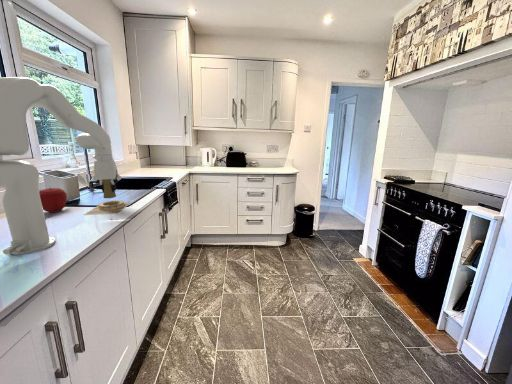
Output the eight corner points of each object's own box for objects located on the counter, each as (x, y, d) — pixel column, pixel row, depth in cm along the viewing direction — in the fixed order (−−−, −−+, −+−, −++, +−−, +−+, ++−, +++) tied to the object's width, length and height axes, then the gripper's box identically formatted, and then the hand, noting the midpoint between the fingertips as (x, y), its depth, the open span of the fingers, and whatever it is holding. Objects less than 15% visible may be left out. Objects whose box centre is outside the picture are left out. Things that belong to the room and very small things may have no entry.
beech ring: (119, 209, 126) (118, 205, 126) (94, 210, 124) (93, 206, 124) (127, 202, 138) (126, 199, 137) (104, 203, 136) (104, 200, 135)
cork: (110, 198, 126) (107, 178, 123) (100, 198, 127) (97, 177, 125) (118, 195, 132) (116, 176, 129) (109, 195, 133) (106, 176, 130)
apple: (43, 217, 117) (37, 190, 114) (37, 212, 124) (31, 187, 121) (72, 210, 126) (67, 186, 123) (65, 206, 133) (60, 183, 130)
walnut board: (118, 215, 120) (117, 213, 120) (83, 216, 118) (83, 215, 117) (131, 203, 139) (131, 202, 139) (102, 205, 137) (101, 203, 136)
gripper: (83, 158, 119) (88, 193, 124) (118, 158, 122) (123, 192, 127) (90, 157, 127) (95, 190, 131) (123, 157, 129) (128, 189, 134)
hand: (109, 191), depth 129 cm, fingers closed on cork, 4 cm apart
